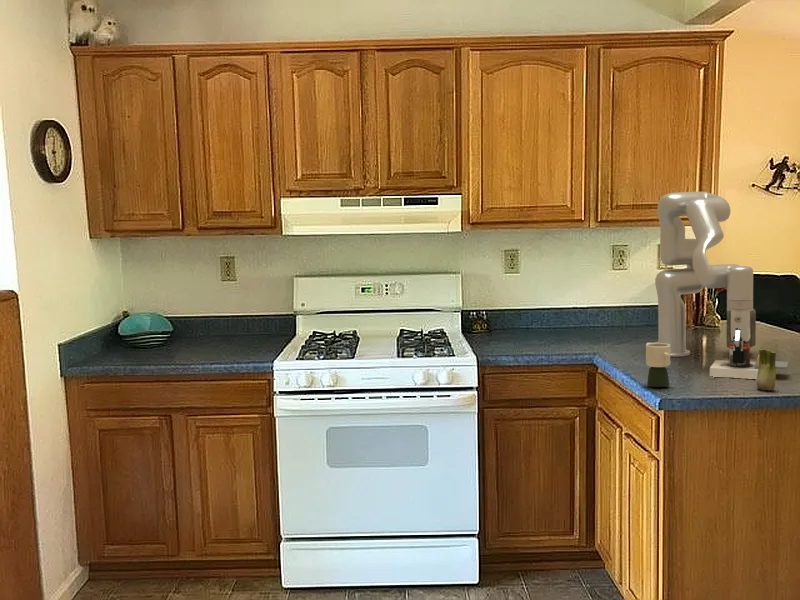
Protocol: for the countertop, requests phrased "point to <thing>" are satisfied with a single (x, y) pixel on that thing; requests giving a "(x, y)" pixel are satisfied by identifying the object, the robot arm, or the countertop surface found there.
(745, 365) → the supplement bottle
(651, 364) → the character mug
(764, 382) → the fennel bulb
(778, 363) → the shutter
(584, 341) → the countertop surface
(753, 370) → the socket block
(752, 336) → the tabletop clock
